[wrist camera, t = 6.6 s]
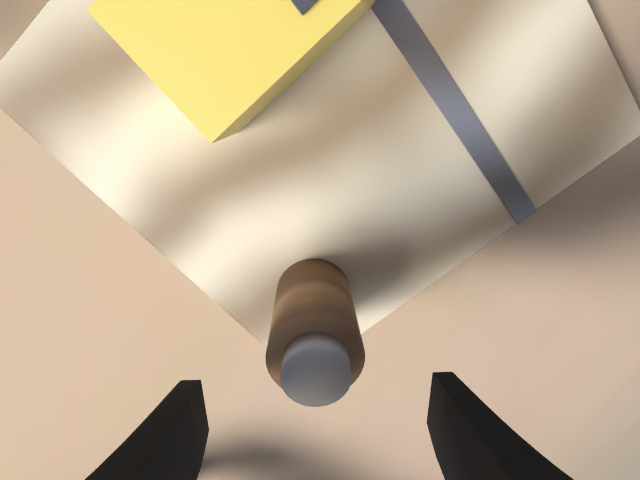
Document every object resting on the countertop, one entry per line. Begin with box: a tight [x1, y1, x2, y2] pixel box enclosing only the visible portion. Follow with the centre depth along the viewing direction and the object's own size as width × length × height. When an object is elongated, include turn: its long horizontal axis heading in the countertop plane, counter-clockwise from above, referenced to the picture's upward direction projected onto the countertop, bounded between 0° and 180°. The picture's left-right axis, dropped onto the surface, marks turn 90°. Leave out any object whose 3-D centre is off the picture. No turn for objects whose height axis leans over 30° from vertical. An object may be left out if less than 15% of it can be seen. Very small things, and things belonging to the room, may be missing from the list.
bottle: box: [266, 259, 365, 407], centre depth 15 cm, size 4×4×6 cm
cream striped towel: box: [0, 0, 640, 348], centre depth 15 cm, size 19×20×1 cm
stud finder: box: [87, 0, 376, 143], centre depth 11 cm, size 4×7×5 cm, turn 130°
